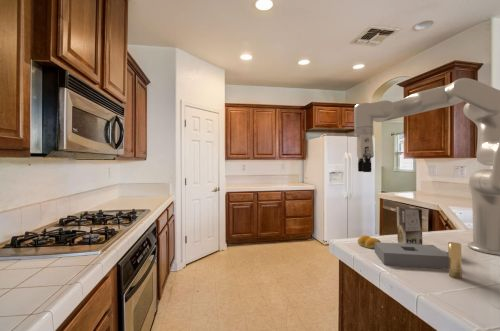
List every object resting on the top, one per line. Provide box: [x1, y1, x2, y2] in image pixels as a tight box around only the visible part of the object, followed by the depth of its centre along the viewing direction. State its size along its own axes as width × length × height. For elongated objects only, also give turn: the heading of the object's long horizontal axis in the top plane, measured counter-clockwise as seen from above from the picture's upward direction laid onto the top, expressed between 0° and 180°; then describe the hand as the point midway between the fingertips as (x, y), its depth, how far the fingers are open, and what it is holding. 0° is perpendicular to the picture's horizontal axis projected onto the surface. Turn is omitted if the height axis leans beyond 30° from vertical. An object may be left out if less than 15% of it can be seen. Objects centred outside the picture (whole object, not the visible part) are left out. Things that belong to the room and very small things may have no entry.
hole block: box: [374, 242, 449, 270], centre depth 88 cm, size 20×12×4 cm, turn 77°
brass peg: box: [447, 241, 463, 280], centre depth 75 cm, size 3×3×10 cm
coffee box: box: [396, 205, 423, 245], centre depth 104 cm, size 9×6×16 cm
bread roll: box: [357, 234, 382, 249], centre depth 105 cm, size 8×9×4 cm
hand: (364, 171), depth 107 cm, fingers open, 9 cm apart
